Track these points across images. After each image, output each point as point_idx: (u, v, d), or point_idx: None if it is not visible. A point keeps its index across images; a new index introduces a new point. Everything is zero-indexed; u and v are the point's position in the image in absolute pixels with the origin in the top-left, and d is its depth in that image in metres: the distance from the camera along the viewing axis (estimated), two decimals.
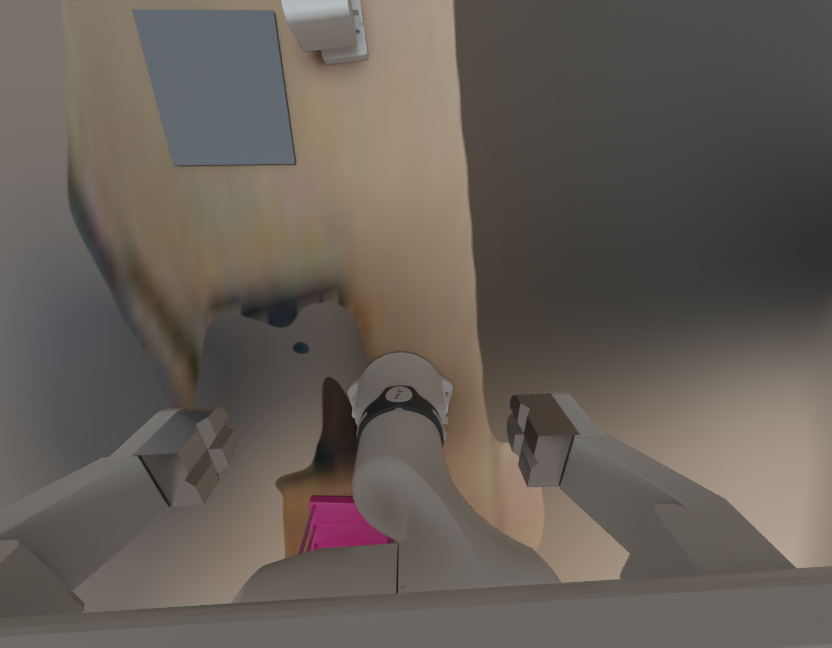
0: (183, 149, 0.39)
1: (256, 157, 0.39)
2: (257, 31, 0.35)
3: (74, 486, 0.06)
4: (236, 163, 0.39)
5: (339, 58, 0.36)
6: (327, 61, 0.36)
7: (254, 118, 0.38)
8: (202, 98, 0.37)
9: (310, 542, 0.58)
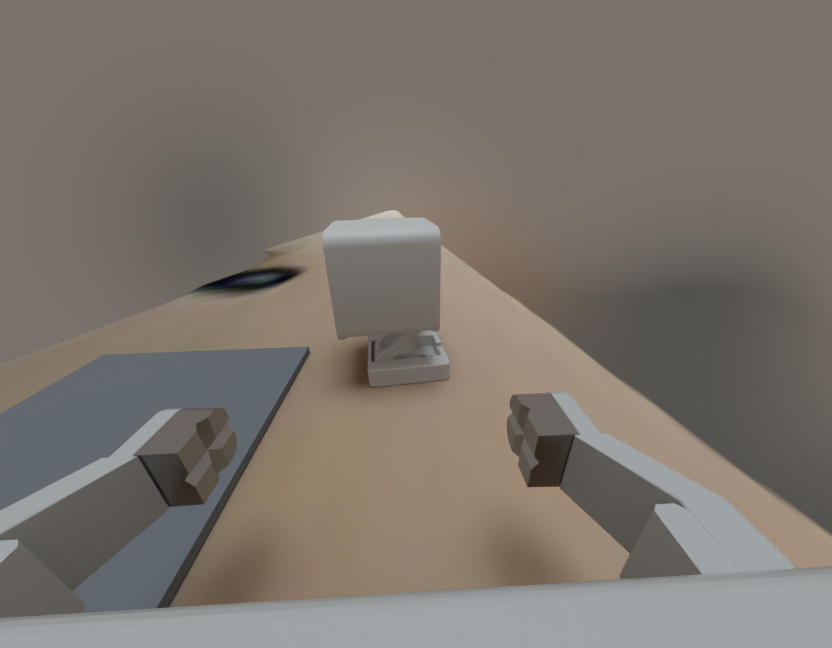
0: None
1: None
2: (270, 361, 0.22)
3: (74, 486, 0.06)
4: None
5: (398, 371, 0.19)
6: (375, 379, 0.19)
7: None
8: (63, 436, 0.15)
9: None
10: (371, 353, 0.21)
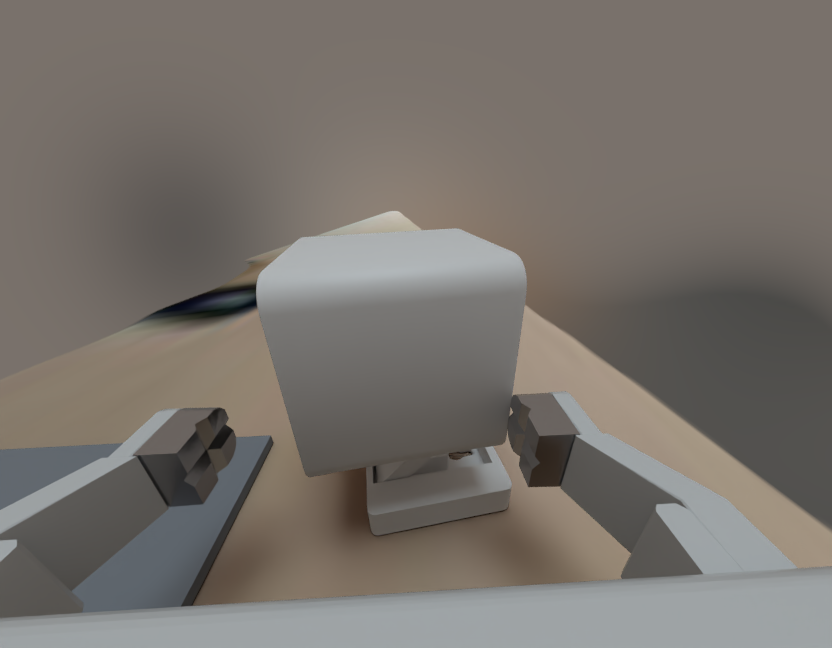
0: None
1: None
2: None
3: (73, 486, 0.06)
4: None
5: (424, 508, 0.11)
6: (382, 524, 0.11)
7: None
8: None
9: None
10: None
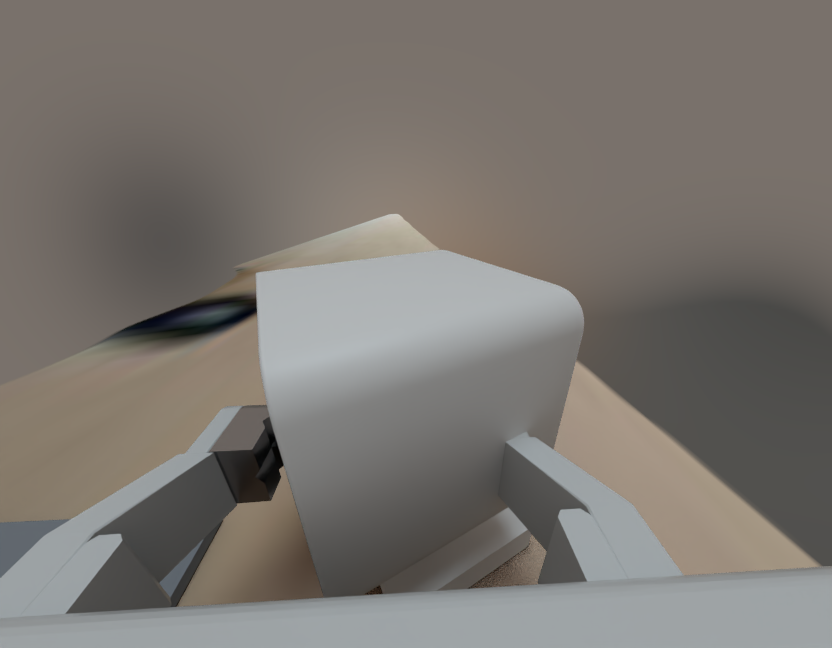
0: None
1: None
2: None
3: (159, 482, 0.06)
4: None
5: (455, 580, 0.09)
6: None
7: None
8: None
9: None
10: None
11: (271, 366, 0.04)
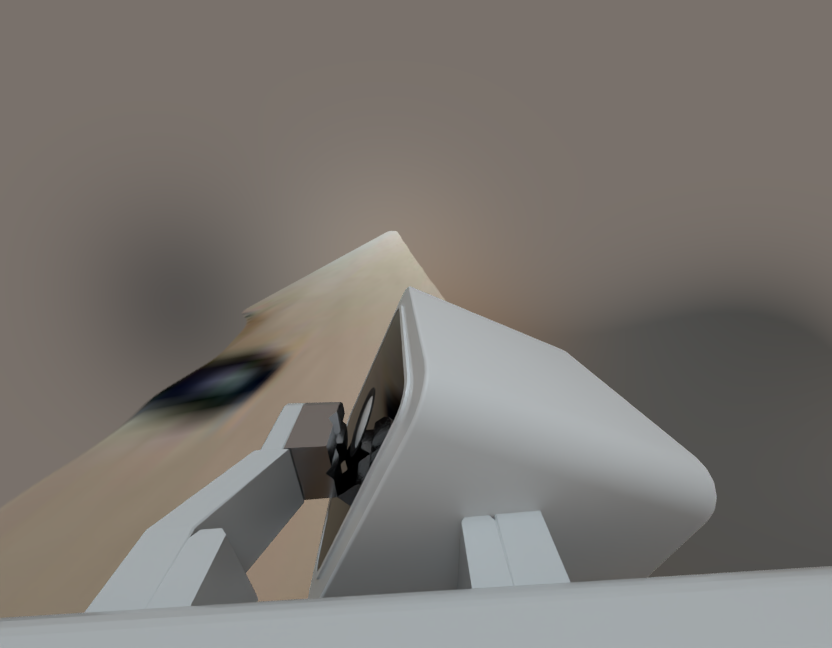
0: None
1: None
2: None
3: (244, 477, 0.06)
4: None
5: None
6: None
7: None
8: None
9: None
10: None
11: (434, 377, 0.04)
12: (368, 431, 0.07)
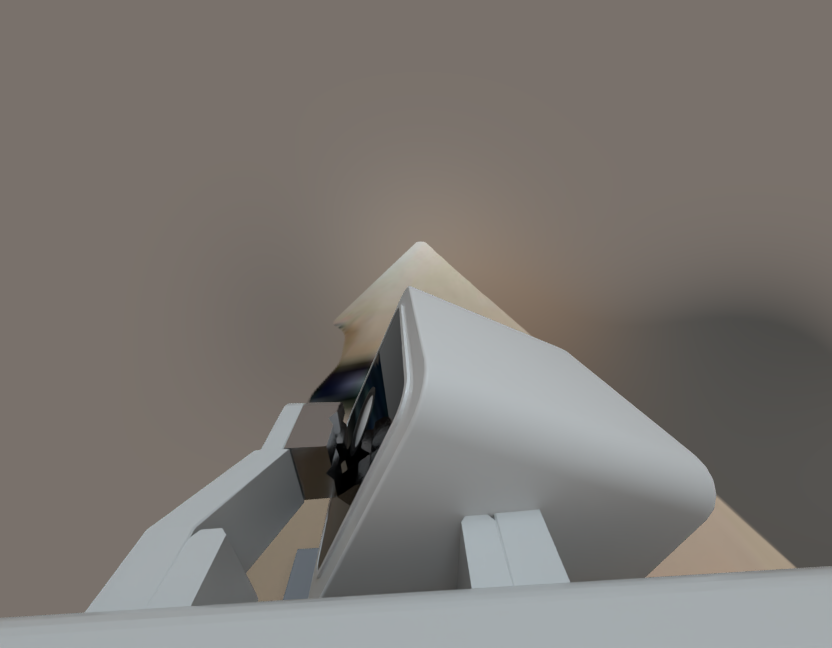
0: None
1: None
2: None
3: (244, 478, 0.06)
4: None
5: None
6: None
7: None
8: None
9: None
10: None
11: (434, 375, 0.04)
12: (368, 430, 0.07)
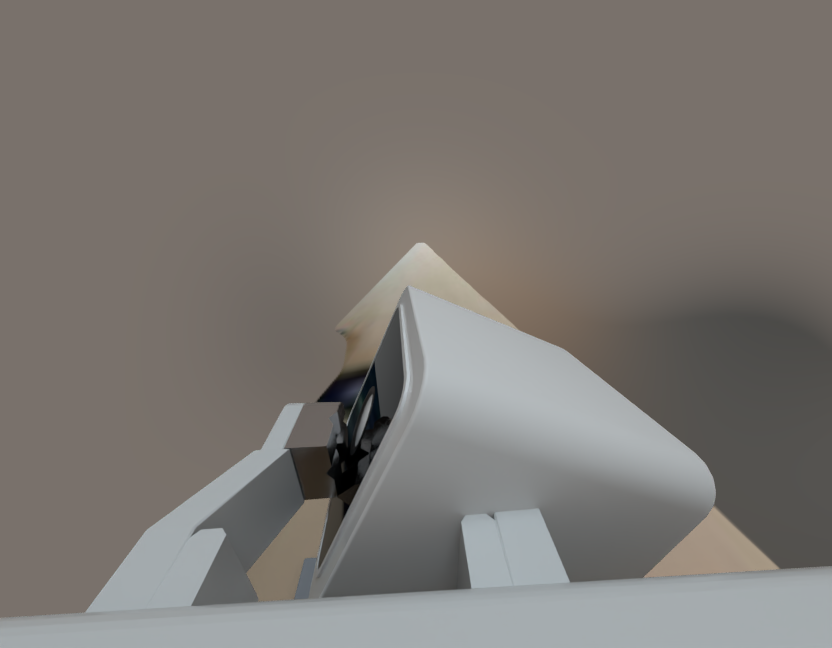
0: None
1: None
2: None
3: (244, 477, 0.06)
4: None
5: None
6: None
7: None
8: None
9: None
10: None
11: (433, 373, 0.04)
12: (368, 429, 0.07)
